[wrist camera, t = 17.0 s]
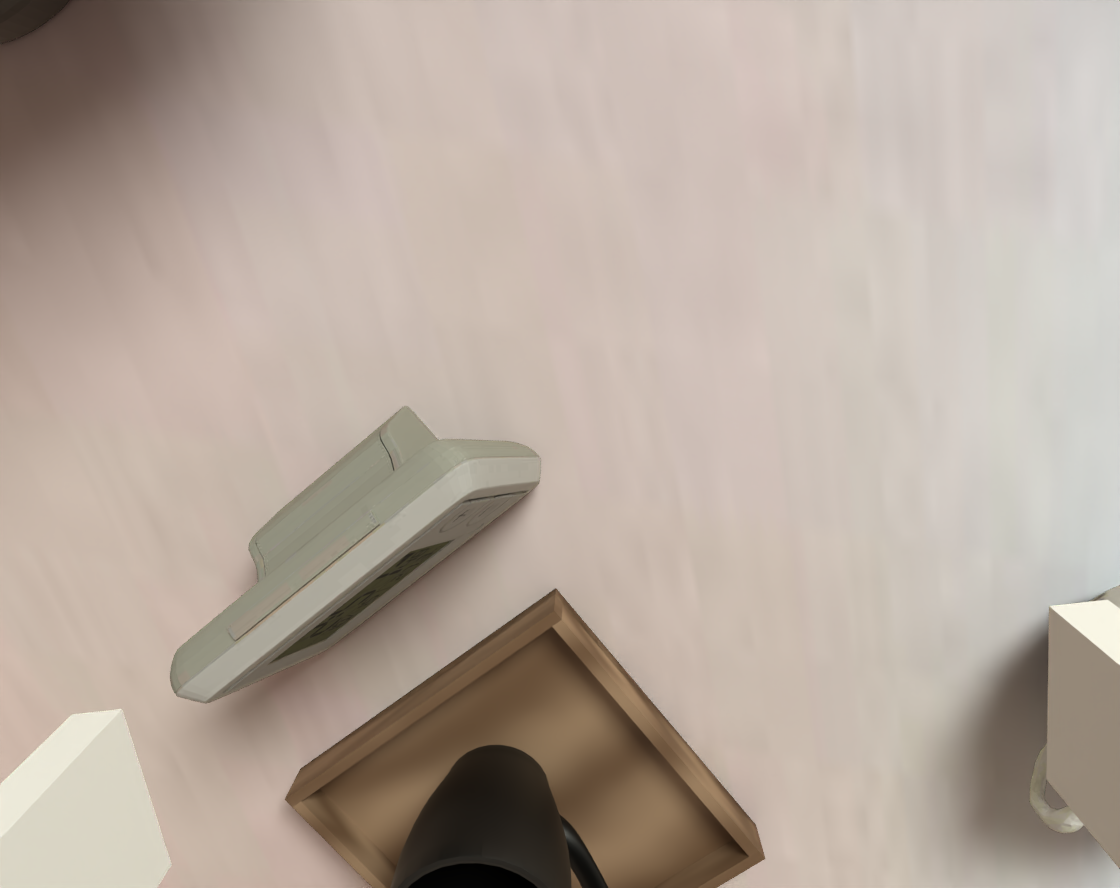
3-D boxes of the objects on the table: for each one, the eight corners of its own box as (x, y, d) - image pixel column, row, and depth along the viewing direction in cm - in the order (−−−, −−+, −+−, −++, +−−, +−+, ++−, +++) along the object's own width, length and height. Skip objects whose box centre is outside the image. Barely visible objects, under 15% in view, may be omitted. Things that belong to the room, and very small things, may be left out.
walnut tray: (300, 768, 46) (284, 799, 43) (555, 588, 42) (554, 610, 40) (504, 976, 49) (500, 1015, 47) (755, 825, 46) (765, 858, 43)
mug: (584, 903, 47) (584, 1071, 37) (396, 809, 45) (348, 959, 36) (662, 797, 45) (681, 947, 35) (467, 696, 43) (436, 824, 34)
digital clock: (308, 649, 44) (224, 781, 34) (212, 507, 42) (92, 601, 32) (578, 517, 41) (576, 615, 31) (490, 359, 39) (457, 409, 29)
